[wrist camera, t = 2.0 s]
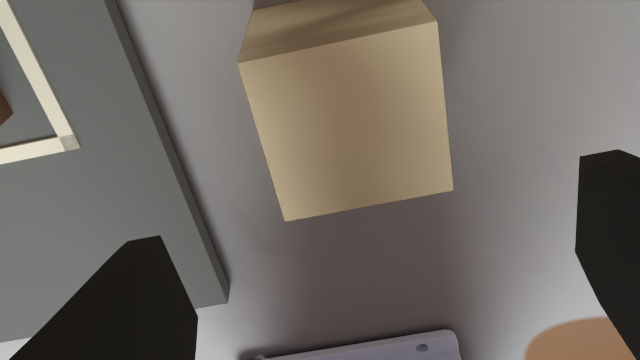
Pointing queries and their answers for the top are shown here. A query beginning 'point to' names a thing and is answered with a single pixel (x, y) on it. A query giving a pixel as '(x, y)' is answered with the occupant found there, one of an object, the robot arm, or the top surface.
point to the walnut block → (4, 109)
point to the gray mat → (84, 163)
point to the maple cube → (347, 102)
